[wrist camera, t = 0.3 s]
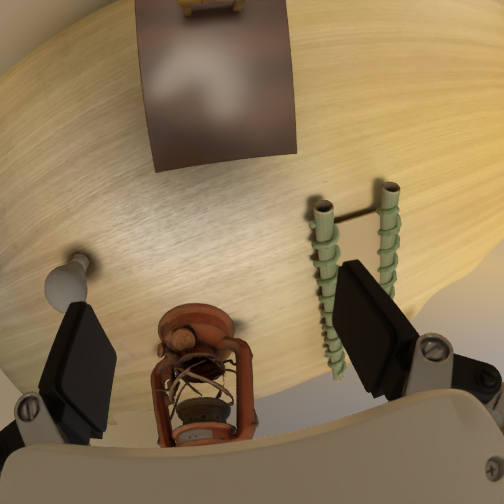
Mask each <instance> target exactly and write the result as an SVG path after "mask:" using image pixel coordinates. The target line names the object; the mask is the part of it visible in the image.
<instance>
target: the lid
mask: <svg viewBox="0 0 504 504" xmlns="http://www.w3.org/2000/svg"><path fill="white" fill-rule="evenodd" d="M135 16H136V32H137V44H138V56H139V66H140V75H141V83H142V91H143V99H144V106H145V113H146V120H147V127H148V133H149V139H150V145H151V151H152V156H153V162H154V167H155V172H156V173H158V172H163V171H168V170H174V169H179V168H185V167H191V166H197V165H204V164H210V163H217V162H224V161H232V160H239V159H248V158H256V157H266V156H276V155H287V154H297V142H296V120H295V103H294V87H293V73H292V60H291V49H290V38H289V27H288V18H287V9H286V0H135Z"/></svg>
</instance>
